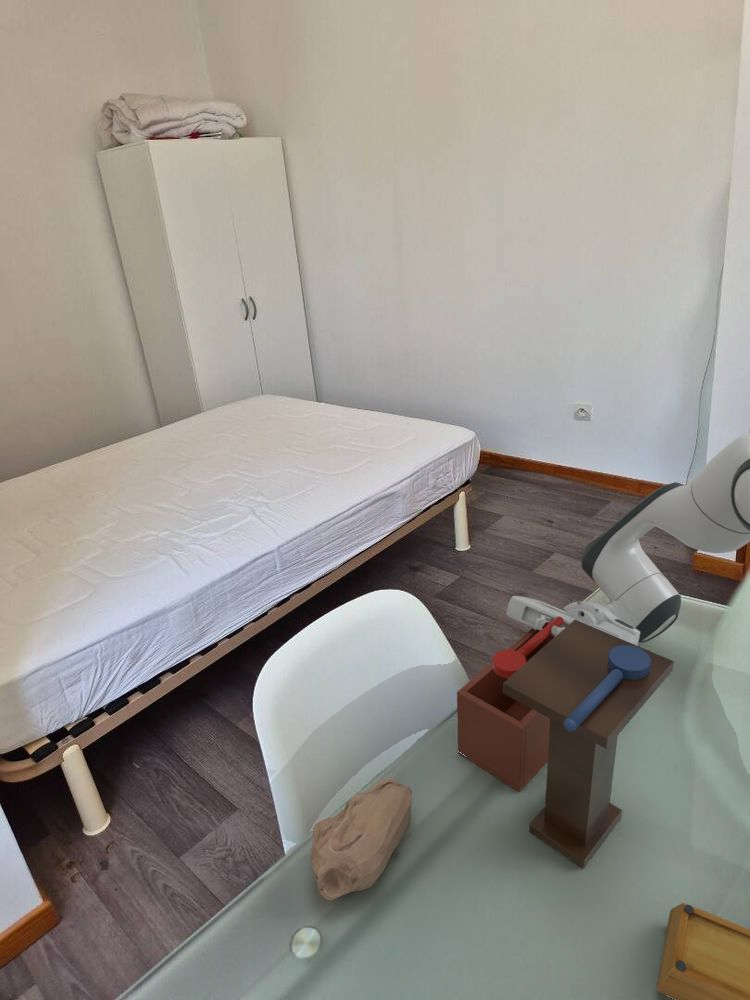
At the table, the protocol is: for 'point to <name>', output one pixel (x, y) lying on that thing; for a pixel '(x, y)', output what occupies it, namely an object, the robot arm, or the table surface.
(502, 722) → the bin
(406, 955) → the table surface
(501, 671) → the red spoon
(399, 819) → the rock
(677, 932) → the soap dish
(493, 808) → the table surface
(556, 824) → the shelf stand
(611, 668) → the blue spoon
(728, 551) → the robot arm
